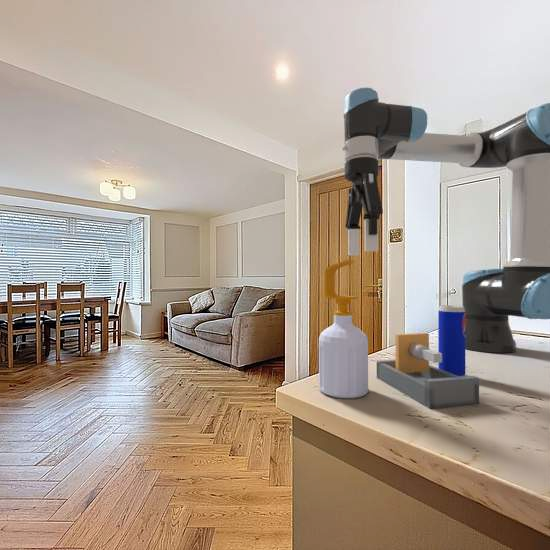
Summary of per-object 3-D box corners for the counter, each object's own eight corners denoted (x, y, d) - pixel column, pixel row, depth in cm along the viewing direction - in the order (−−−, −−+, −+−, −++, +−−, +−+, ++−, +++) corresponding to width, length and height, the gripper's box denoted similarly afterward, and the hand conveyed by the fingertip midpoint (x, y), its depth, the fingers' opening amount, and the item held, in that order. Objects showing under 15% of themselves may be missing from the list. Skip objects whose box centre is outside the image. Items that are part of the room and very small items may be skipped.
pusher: (425, 369, 68) (425, 332, 68) (454, 382, 60) (454, 340, 60) (395, 371, 66) (395, 334, 66) (421, 384, 59) (421, 342, 59)
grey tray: (416, 374, 73) (416, 354, 73) (479, 403, 56) (479, 377, 56) (376, 377, 71) (376, 356, 71) (429, 408, 54) (429, 381, 54)
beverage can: (469, 379, 69) (468, 307, 69) (442, 378, 70) (442, 307, 70) (460, 372, 74) (460, 305, 75) (435, 371, 76) (435, 305, 76)
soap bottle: (359, 403, 57) (359, 258, 57) (310, 393, 62) (310, 260, 62) (374, 388, 64) (373, 260, 64) (329, 380, 69) (329, 261, 69)
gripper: (333, 177, 89) (334, 256, 89) (361, 138, 64) (361, 249, 64) (361, 177, 89) (361, 256, 89) (399, 139, 64) (400, 249, 64)
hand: (361, 253), depth 77 cm, fingers open, 13 cm apart
